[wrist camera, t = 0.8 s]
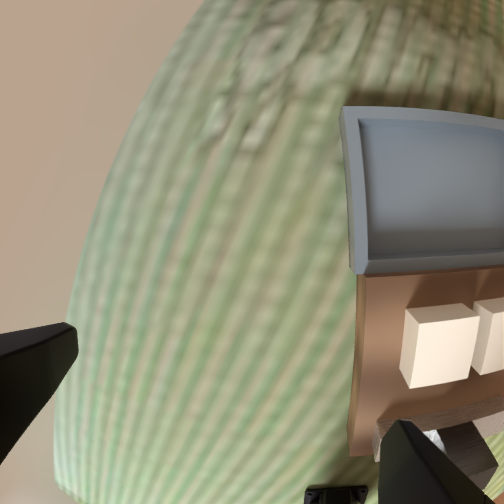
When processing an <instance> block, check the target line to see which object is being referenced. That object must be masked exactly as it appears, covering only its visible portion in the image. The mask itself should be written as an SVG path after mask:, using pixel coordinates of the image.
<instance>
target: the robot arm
mask: <svg viewBox="0 0 504 504" xmlns="http://www.w3.org/2000/svg"><path fill="white" fill-rule="evenodd" d="M78 352H79V349H78V337H77V330H76V328H75V327H74V326H72V325H70V324H68V323H65V322H62V323H57V324H52V325H46V326H41V327H36V328H31V329H25V330H19V331H14V332H9V333H3V334H0V465H1V463H2V462H3V460H4V459H5V458H6V456H7V455H8V453H9V452H10V451H11V449H12V448H13V447H14V445H15V444H16V442H17V441H18V440H19V438H20V437H21V436H22V434H23V433H24V432H25V430H26V429H27V428H28V426H29V425H30V424H31V422H32V421H33V420H34V418H35V417H36V416H37V415H38V413H39V412H40V410H41V409H42V408H43V407H44V406H45V404H46V403H47V402H48V401H49V399H50V398H51V397H52V395H53V394H54V392H55V391H56V390H57V388H58V386H59V385H60V383H61V382H62V380H63V378H64V377H65V375H66V374H67V372H68V371H69V369H70V368H71V366H72V364H73V363H74V361H75V360H76V358H77V356H78ZM367 493H368V487H367V486H359V487H347V488H331V489H308V490H306V491H305V497H304V504H364V502H365V499H366V496H367ZM378 504H495V503H494V502H493V501H492V500H491V499H490V498H489V497H488V496H487V495H486V494H485V495H484V492H483V491H482V490H481V489H480V488H479V487H478V486H477V485H476V484H475V483H474V482H473V481H472V480H471V479H470V478H469V477H468V476H467V475H466V474H464V473H463V472H462V471H461V470H460V469H459V468H458V467H457V466H456V465H455V464H454V463H453V462H452V461H451V460H450V459H449V458H448V457H447V456H446V455H445V454H444V453H443V452H442V451H441V450H440V449H439V448H438V447H437V446H436V445H435V444H434V443H433V442H432V441H431V440H430V439H429V438H428V437H427V436H426V435H425V434H424V433H423V432H422V431H421V430H420V429H419V428H418V427H417V426H416V425H415V424H414V423H413V422H412V421H410V420H405V419H398V420H396V421H395V422H394V423H393V424H392V426H391V427H390V428H389V430H388V431H387V432H386V434H385V435H384V436H383V438H382V440H381V443H380V463H379V480H378Z"/></svg>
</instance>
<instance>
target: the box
mask: <svg viewBox="0 0 504 504" xmlns="http://www.w3.org/2000/svg"><path fill="white" fill-rule="evenodd" d="M339 123H340V131H341V139H342V148H343V158H344V169H345V181H346V195H347V211H348V232H349V267H350V268H351V270H352V271H353V272H354V274H374V273H391V272H408V271H423V270H438V269H452V268H465V267H477V266H489V265H501V264H504V120H502V119H497V118H492V117H486V116H480V115H473V114H467V113H459V112H451V111H442V110H432V109H420V108H405V107H381V106H343V107H342V110H341V113H340V116H339Z"/></svg>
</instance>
